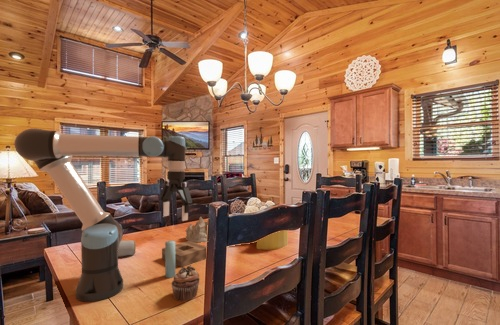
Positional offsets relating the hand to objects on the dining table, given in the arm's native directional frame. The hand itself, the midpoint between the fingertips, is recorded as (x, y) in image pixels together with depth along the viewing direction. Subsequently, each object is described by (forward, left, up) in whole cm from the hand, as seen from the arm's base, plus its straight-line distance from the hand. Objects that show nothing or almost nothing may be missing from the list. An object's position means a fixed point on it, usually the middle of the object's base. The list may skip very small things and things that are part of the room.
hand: (175, 218), depth 119 cm
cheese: (+55, -8, -22) cm, 60 cm away
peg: (-7, -6, -22) cm, 24 cm away
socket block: (+9, +6, -22) cm, 25 cm away
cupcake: (-12, -25, -22) cm, 35 cm away
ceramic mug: (-8, +33, -22) cm, 40 cm away
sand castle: (+35, +26, -22) cm, 49 cm away
